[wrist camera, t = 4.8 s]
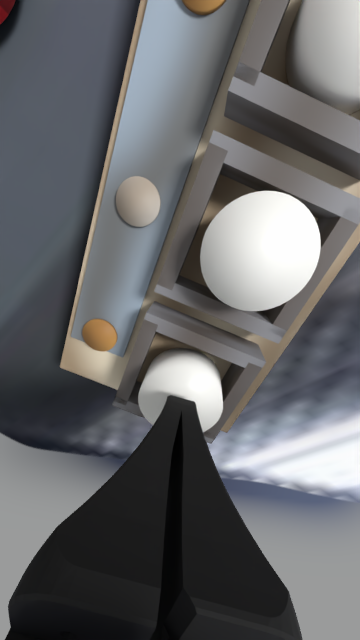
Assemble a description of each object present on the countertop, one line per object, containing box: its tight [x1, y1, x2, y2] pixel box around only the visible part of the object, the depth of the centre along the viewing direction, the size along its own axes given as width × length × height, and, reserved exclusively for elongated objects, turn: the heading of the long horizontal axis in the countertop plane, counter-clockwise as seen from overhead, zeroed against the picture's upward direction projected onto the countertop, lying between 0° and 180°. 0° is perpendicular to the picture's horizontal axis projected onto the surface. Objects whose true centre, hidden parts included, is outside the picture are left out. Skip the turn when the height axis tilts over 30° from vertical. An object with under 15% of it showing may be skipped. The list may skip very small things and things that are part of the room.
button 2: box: [138, 348, 223, 432], centre depth 13 cm, size 4×4×2 cm
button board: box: [60, 0, 360, 443], centre depth 12 cm, size 13×24×4 cm, turn 158°
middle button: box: [200, 191, 321, 311], centre depth 10 cm, size 4×4×2 cm
